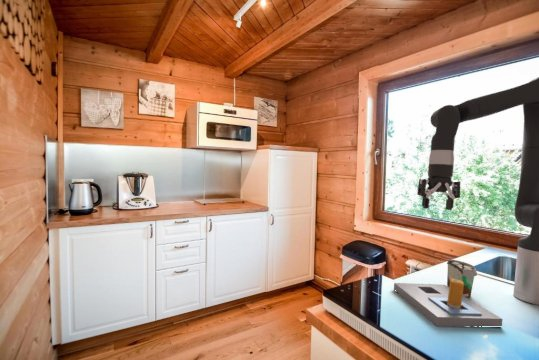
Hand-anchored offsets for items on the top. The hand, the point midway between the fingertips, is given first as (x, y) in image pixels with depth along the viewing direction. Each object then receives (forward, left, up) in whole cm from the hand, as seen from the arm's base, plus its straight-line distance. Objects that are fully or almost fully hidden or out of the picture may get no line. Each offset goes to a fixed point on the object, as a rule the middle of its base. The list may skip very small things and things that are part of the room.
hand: (437, 209), depth 98 cm
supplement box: (+7, +20, -28) cm, 35 cm away
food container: (-8, +5, -28) cm, 30 cm away
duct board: (+7, +15, -28) cm, 33 cm away
